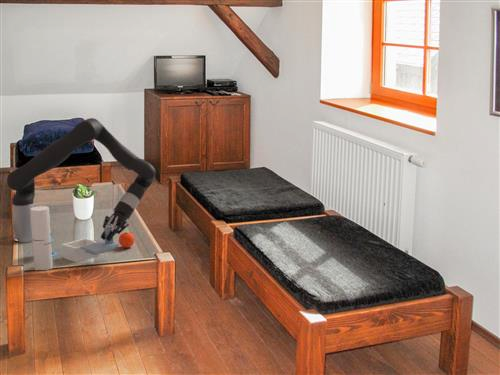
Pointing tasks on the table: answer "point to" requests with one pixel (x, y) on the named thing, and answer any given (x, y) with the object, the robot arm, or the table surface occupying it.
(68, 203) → the table surface
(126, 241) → the clementine
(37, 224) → the cylindrical container
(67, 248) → the tub
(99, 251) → the lid
